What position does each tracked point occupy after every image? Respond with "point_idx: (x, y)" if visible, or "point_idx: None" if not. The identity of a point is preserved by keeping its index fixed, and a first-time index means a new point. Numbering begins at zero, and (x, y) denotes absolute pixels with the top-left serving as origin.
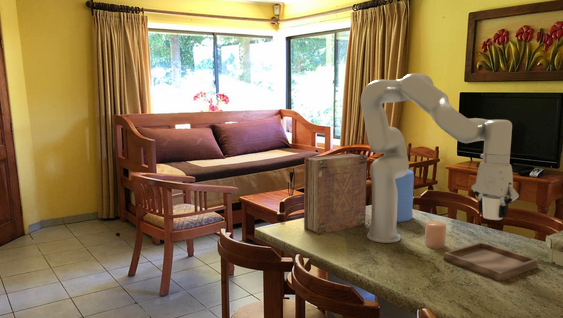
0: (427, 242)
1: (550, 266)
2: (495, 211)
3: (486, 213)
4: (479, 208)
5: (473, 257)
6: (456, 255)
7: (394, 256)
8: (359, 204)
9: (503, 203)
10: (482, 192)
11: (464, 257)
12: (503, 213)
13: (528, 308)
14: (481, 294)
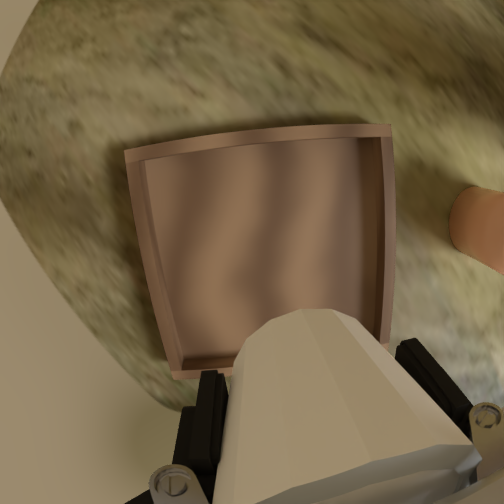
0: (487, 189)
1: (171, 395)
2: (244, 386)
3: (323, 329)
4: (427, 356)
5: (328, 231)
6: (374, 188)
7: (452, 25)
8: None
9: (174, 489)
10: (498, 484)
11: (346, 199)
12: (192, 412)
13: (7, 98)
14: (102, 30)
